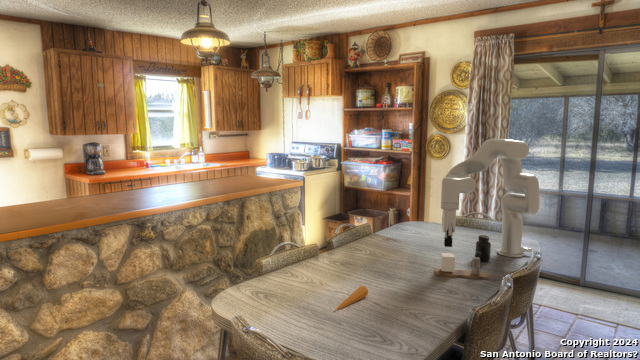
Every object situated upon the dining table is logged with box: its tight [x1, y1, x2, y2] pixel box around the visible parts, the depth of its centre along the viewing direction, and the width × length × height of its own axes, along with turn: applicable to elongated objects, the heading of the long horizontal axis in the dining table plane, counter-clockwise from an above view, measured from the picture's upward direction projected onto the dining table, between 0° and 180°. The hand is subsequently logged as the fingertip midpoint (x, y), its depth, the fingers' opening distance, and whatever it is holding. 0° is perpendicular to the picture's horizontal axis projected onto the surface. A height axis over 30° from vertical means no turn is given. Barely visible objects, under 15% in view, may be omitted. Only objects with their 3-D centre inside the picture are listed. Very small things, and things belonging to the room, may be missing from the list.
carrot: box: [334, 285, 369, 312], centre depth 151 cm, size 20×4×4 cm, turn 139°
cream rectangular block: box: [440, 252, 456, 272], centre depth 181 cm, size 5×5×7 cm
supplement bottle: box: [474, 234, 492, 263], centre depth 199 cm, size 7×7×12 cm
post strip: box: [434, 256, 490, 280], centre depth 180 cm, size 22×7×8 cm, turn 79°
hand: (448, 246), depth 180 cm, fingers closed
